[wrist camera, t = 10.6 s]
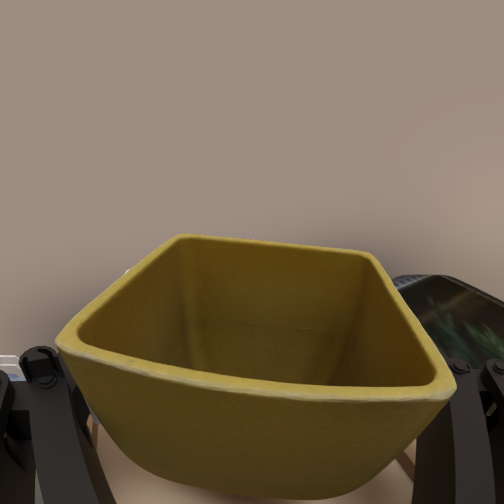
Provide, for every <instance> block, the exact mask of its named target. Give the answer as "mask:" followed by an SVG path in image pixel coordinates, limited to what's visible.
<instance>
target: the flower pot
mask: <svg viewBox="0 0 504 504" xmlns="http://www.w3.org/2000/svg"><path fill="white" fill-rule="evenodd" d="M55 344H56V347H57V349H58V351H59V353H60V354H61V356H62V358H63V360H64V362H65V364H66V366H67V368H68V369H69V371H70V373H71V375H72V377H73V379H74V380H75V382H76V384H77V386H78V387H79V389H80V391H81V393H82V394H83V396H84V398H85V399H86V401H87V402H88V404H89V406H90V407H91V409H92V410H93V412H94V414H95V415H96V417H97V418H98V420H99V421H100V423H101V424H102V426H103V427H104V429H105V430H106V432H107V433H108V434H109V436H110V437H111V439H112V440H113V441H114V442H115V444H116V445H117V446H118V447H119V449H120V450H121V451H122V452H123V453H124V454H125V455H126V456H127V457H128V458H129V459H130V460H132V461H133V462H134V463H135V464H137V465H138V466H140V467H141V468H143V469H144V470H146V471H148V472H150V473H152V474H154V475H156V476H158V477H161V478H163V479H166V480H169V481H172V482H176V483H179V484H183V485H188V486H192V487H197V488H202V489H207V490H212V491H217V492H223V493H229V494H236V495H244V496H252V497H261V498H273V499H286V500H323V499H330V498H335V497H339V496H342V495H345V494H347V493H350V492H352V491H354V490H356V489H358V488H360V487H361V486H363V485H365V484H366V483H367V482H369V481H370V480H371V479H373V478H374V477H375V476H376V475H378V474H379V473H380V472H381V471H382V470H383V469H385V468H386V467H387V466H388V465H389V464H390V463H391V462H392V461H393V460H395V459H396V458H397V457H398V456H399V455H400V454H401V453H402V452H403V451H404V450H405V449H406V448H407V447H408V446H409V445H410V444H411V443H412V442H413V441H414V440H415V439H416V438H417V437H418V436H419V435H420V434H421V432H422V431H423V430H424V429H425V428H426V427H427V426H428V425H429V424H430V422H431V421H432V420H433V419H434V418H435V416H436V415H437V414H438V413H439V411H440V410H441V409H442V408H443V407H444V406H445V405H446V403H447V402H448V401H449V400H450V399H451V397H452V396H453V394H454V393H455V391H456V389H457V385H456V382H455V379H454V377H453V374H452V372H451V370H450V369H449V368H448V366H447V364H446V362H445V360H444V358H443V357H442V355H441V354H440V352H439V351H438V349H437V347H436V346H435V344H434V343H433V341H432V340H431V338H430V337H429V336H428V335H427V333H426V331H425V330H424V329H423V327H422V325H421V324H420V322H419V320H418V319H417V318H416V316H415V315H414V314H413V312H412V311H411V310H410V308H409V307H408V306H407V304H406V303H405V301H404V300H403V298H402V297H401V295H400V294H399V292H398V291H397V289H396V288H395V286H394V285H393V283H392V281H391V279H390V278H389V276H388V275H387V273H386V272H385V270H384V269H383V268H382V266H381V264H380V263H379V261H378V260H377V259H376V258H375V257H374V256H372V255H371V254H370V253H368V252H362V251H356V250H348V249H338V248H329V247H319V246H308V245H298V244H288V243H279V242H269V241H259V240H251V239H237V238H229V237H219V236H209V235H199V234H186V233H180V234H178V235H176V236H174V237H172V238H171V239H169V240H167V241H166V242H165V243H163V244H162V245H160V246H159V247H158V248H156V249H155V250H154V251H153V252H151V253H150V254H149V255H147V256H146V257H145V258H144V259H143V260H141V261H140V262H138V263H137V264H136V265H135V266H134V267H132V268H131V269H130V270H129V271H128V272H127V273H125V274H124V275H123V276H122V277H120V278H119V279H118V280H117V281H116V282H114V283H113V284H112V285H111V286H110V287H108V288H107V289H106V290H105V291H104V292H103V293H101V294H100V295H99V296H98V297H96V298H95V299H94V300H93V301H91V302H90V303H89V304H88V305H87V306H85V307H84V308H83V309H82V310H81V311H80V312H79V313H78V314H77V315H76V316H74V317H73V318H72V320H71V321H70V322H69V323H68V324H67V325H66V326H65V327H64V329H63V330H62V331H61V332H60V334H59V335H58V336H57V337H56V339H55Z"/></svg>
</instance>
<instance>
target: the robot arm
mask: <svg viewBox="0 0 504 504" xmlns="http://www.w3.org/2000/svg"><path fill="white" fill-rule="evenodd" d="M128 271H129V270H127V271H126V272H125V273H127V272H128ZM431 340H432V339H431ZM433 343H434V344H435V346H436V347H437V349H438V351H439V352H440V354H441V355H442V357H443V358H444V360H445V362H446V364H447V366H448V368H449V369H450V370H451V372H452V374H453V377H454V379H455V382H456V385H457V389H456V391H455V393H454V394H453V396H452V397H451V399H450V400H449V401H448V402H447V403H446V405H445V406H444V407H443V408H442V409H441V410H440V411H439V413H438V414H437V415H436V416H435V418H434V419H433V420H432V421H431V422H430V424H429V425H428V426H427V427H426V428H425V429H424V430H423V431H422V432H421V434H420V435H419V436H418V437H417V438H416V458H415V473H414V484H413V493H412V502H411V504H504V362H503V361H502V360H499V359H489V360H488V361H487V362H486V364H485V366H484V368H483V369H472V368H471V366H470V365H469V364H468V363H467V362H465V361H464V360H462V359H458V358H448V357H447V356H446V355H445V353H444V352H443V351H442V350H441V349H440V348H439V347H438V346H437V345H436V343H435V342H434V341H433ZM18 363H19V366H20V368H21V370H22V372H23V374H24V376H25V379H26V381H10V379H9V377H8V375H7V373H5V372H4V371H3V370H0V504H35V473H36V469H37V474H38V479H39V484H40V489H41V493H42V497H43V501H44V504H117V503H116V501H115V499H114V496H113V494H112V492H111V489H110V487H109V484H108V482H107V479H106V477H105V474H104V471H103V469H102V466H101V463H100V460H99V457H98V454H97V451H96V448H95V445H94V442H93V439H92V436H91V432H90V429H89V427H88V425H87V420H88V418H89V415H91V417H92V419H93V421H94V423H95V424H99V425H102V424H101V423H100V421H99V420H98V418H97V417H96V415H95V414H94V412H93V410H92V409H91V407H90V406H89V404H88V402H87V401H86V399H85V398H84V396H83V394H82V393H81V391H80V389H79V387H78V386H77V384H76V382H75V380H74V379H73V377H72V375H71V373H70V371H69V369H68V368H67V366H66V364H65V362H64V360H63V358H62V356H61V354H60V353H59V352H58V354H57V353H56V351H55V350H54V349H52V348H51V347H47V346H37V347H33V348H30V349H29V350H27V351H26V352H24V353H23V354H22V355H21V357H20V359H19V362H18ZM494 402H495V404H496V406H497V408H496V409H495V411H494V412H493V414H492V415H490V414H489V412H488V410H489V409H490V407H491V406H492V404H493V403H494Z"/></svg>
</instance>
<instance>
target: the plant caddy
mask: <svg viewBox="0 0 504 504" xmlns="http://www.w3.org/2000/svg"><path fill="white" fill-rule="evenodd" d="M87 425H88V427H89V429H90V432H91V436H92V439H93V442H94V445H95V448H96V451H97V454H98V457H99V460H100V463H101V466H102V469H103V471H104V474H105V477H106V479H107V482H108V484H109V487H110V489H111V492H112V494H113V496H114V499H115V501H116V503H117V504H411V502H412V493H413V484H414V473H415V458H416V439H415V440H414V441H413V442H412V443H411V444H410V445H409V446H408V447H407V448H406V449H405V450H404V451H403V452H402V453H401V454H400V455H399V456H398V457H397V458H396V459H395V460H393V461H392V462H391V463H390V464H389V465H388V466H387V467H386V468H385V469H383V470H382V471H381V472H380V473H379V474H378V475H376V476H375V477H374V478H373V479H371V480H370V481H369V482H367V483H366V484H365V485H363V486H361V487H360V488H358V489H356V490H354V491H352V492H350V493H347V494H345V495H342V496H339V497H335V498H330V499H323V500H286V499H273V498H261V497H252V496H244V495H236V494H229V493H223V492H217V491H212V490H207V489H202V488H197V487H192V486H188V485H183V484H179V483H176V482H172V481H169V480H166V479H163V478H161V477H158V476H156V475H154V474H152V473H150V472H148V471H146V470H144V469H143V468H141V467H140V466H138V465H137V464H135V463H134V462H133V461H132V460H130V459H129V458H128V457H127V456H126V455H125V454H124V453H123V452H122V451H121V450H120V449H119V447H118V446H117V445H116V444H115V442H114V441H113V440H112V439H111V437H110V436H109V434H108V433H107V432H106V430H105V429H104V427H103V426H102V425H99V424H95V423H94V421H93V419H92V417H91V415H89V418H88V420H87Z"/></svg>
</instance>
